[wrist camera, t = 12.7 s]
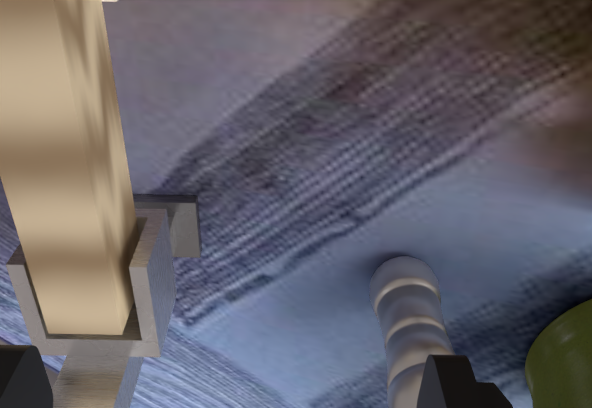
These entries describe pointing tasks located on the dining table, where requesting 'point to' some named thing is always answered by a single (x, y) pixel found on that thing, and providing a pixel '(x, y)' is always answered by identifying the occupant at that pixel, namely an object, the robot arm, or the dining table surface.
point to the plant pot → (562, 361)
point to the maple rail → (67, 163)
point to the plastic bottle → (408, 324)
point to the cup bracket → (142, 318)
